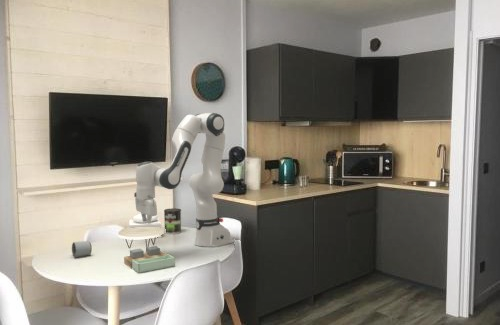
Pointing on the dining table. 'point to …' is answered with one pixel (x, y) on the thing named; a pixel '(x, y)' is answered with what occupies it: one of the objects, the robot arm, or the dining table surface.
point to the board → (129, 260)
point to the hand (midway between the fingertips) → (146, 222)
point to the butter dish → (139, 222)
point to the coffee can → (172, 220)
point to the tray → (153, 263)
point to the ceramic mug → (81, 248)
